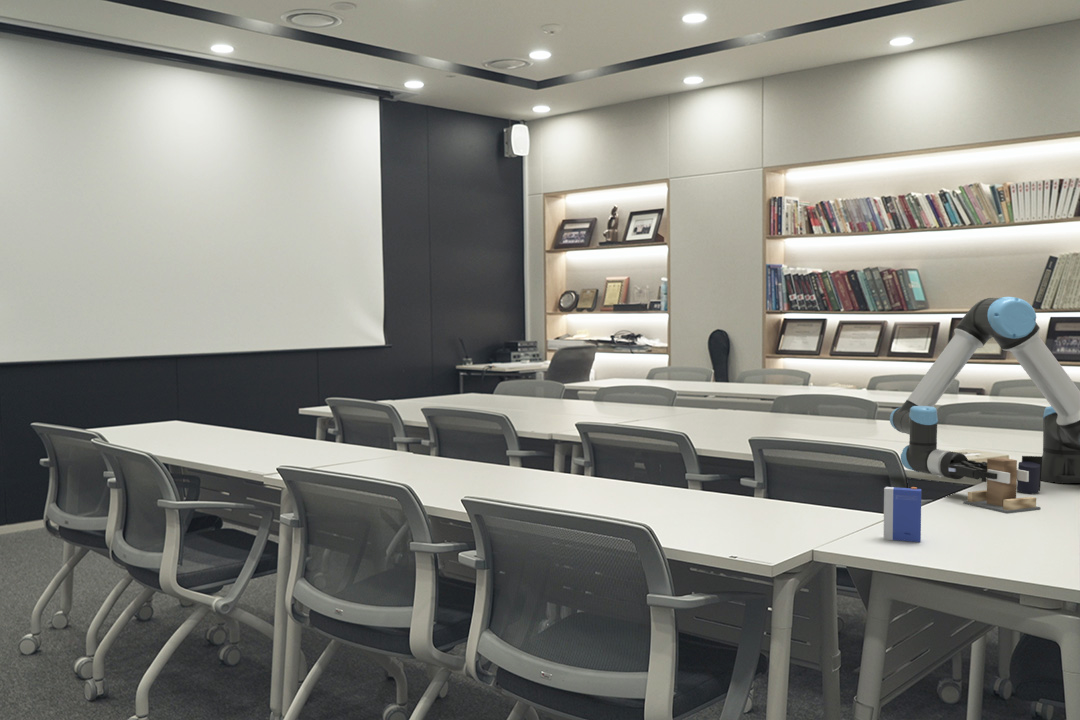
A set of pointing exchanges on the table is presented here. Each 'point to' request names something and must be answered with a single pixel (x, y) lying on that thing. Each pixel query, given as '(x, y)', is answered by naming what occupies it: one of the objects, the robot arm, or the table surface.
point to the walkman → (902, 514)
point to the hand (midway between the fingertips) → (1018, 477)
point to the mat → (998, 507)
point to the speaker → (1030, 474)
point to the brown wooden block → (999, 489)
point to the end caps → (1007, 503)
